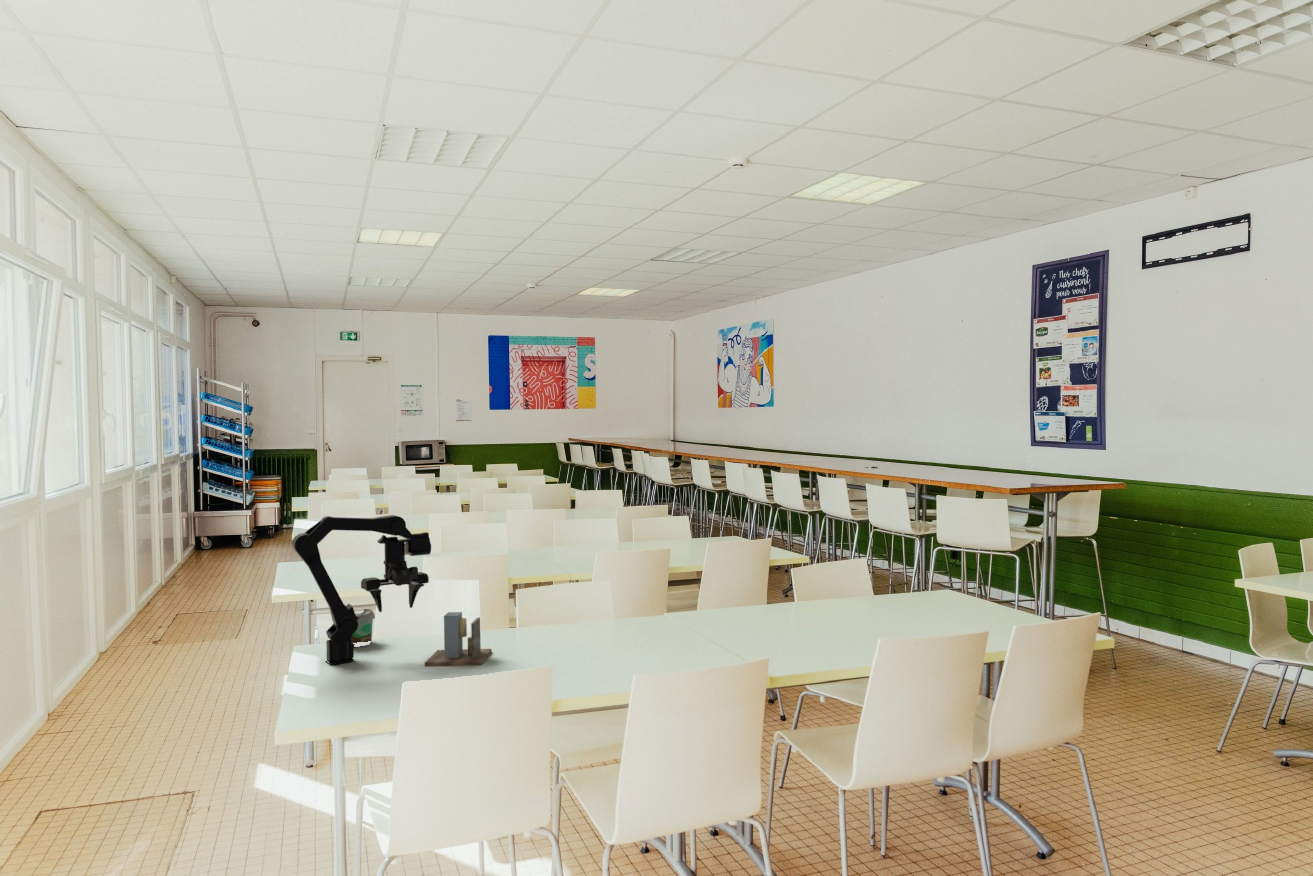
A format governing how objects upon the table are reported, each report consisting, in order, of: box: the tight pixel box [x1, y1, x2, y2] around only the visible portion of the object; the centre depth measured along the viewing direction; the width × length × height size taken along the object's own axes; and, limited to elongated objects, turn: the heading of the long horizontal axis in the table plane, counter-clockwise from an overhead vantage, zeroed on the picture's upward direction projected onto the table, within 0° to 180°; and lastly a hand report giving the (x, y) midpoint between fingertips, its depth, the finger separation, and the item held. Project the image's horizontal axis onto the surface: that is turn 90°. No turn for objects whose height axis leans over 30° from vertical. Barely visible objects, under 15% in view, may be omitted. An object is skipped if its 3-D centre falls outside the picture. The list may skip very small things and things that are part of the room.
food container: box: [351, 608, 376, 645], centre depth 256 cm, size 12×6×10 cm, turn 168°
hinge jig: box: [424, 617, 492, 667], centre depth 237 cm, size 16×14×11 cm
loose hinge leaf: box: [443, 611, 468, 658], centre depth 237 cm, size 6×5×12 cm
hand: (395, 609), depth 245 cm, fingers open, 9 cm apart
